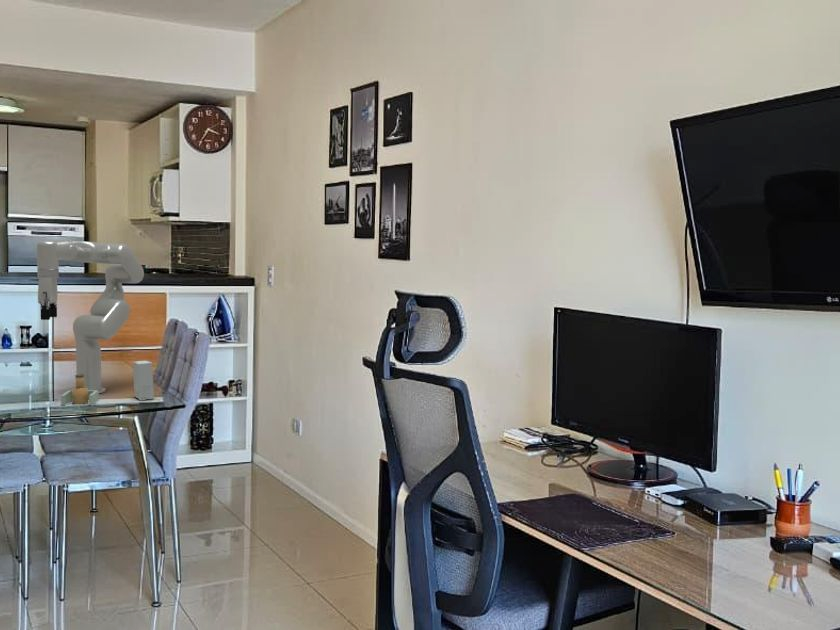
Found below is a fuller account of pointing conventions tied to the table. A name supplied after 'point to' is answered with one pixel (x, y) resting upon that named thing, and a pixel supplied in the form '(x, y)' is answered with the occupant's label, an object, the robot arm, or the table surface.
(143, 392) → the skincare box
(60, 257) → the robot arm
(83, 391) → the bottle
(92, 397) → the u rest
